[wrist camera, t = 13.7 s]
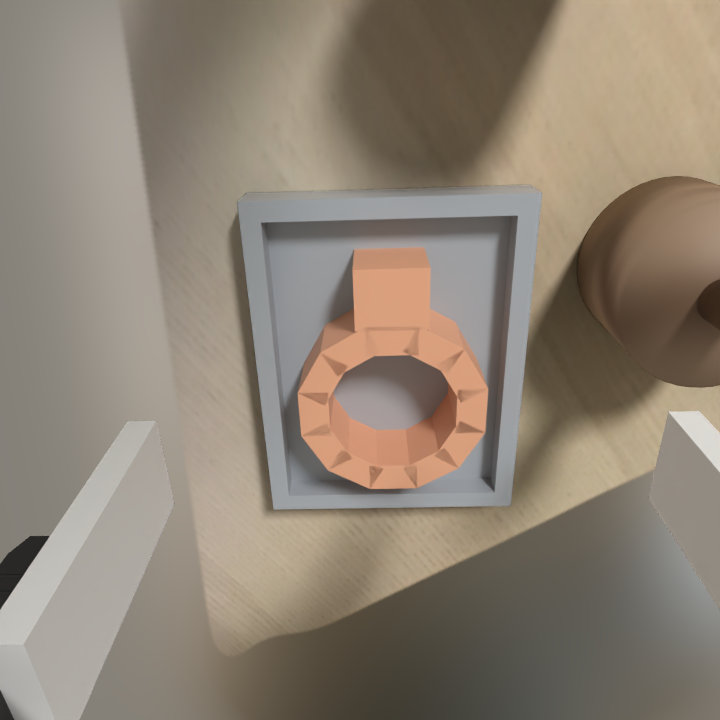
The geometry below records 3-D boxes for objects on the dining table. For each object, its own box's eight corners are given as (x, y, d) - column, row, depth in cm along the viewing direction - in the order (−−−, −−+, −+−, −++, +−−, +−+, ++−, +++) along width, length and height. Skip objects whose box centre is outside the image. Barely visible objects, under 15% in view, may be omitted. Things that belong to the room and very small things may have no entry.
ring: (471, 449, 35) (481, 487, 32) (311, 452, 35) (305, 489, 32) (483, 245, 30) (497, 265, 27) (295, 250, 30) (287, 271, 27)
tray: (246, 192, 30) (237, 201, 28) (530, 184, 29) (542, 192, 27) (278, 486, 37) (273, 509, 35) (503, 482, 37) (510, 505, 35)
